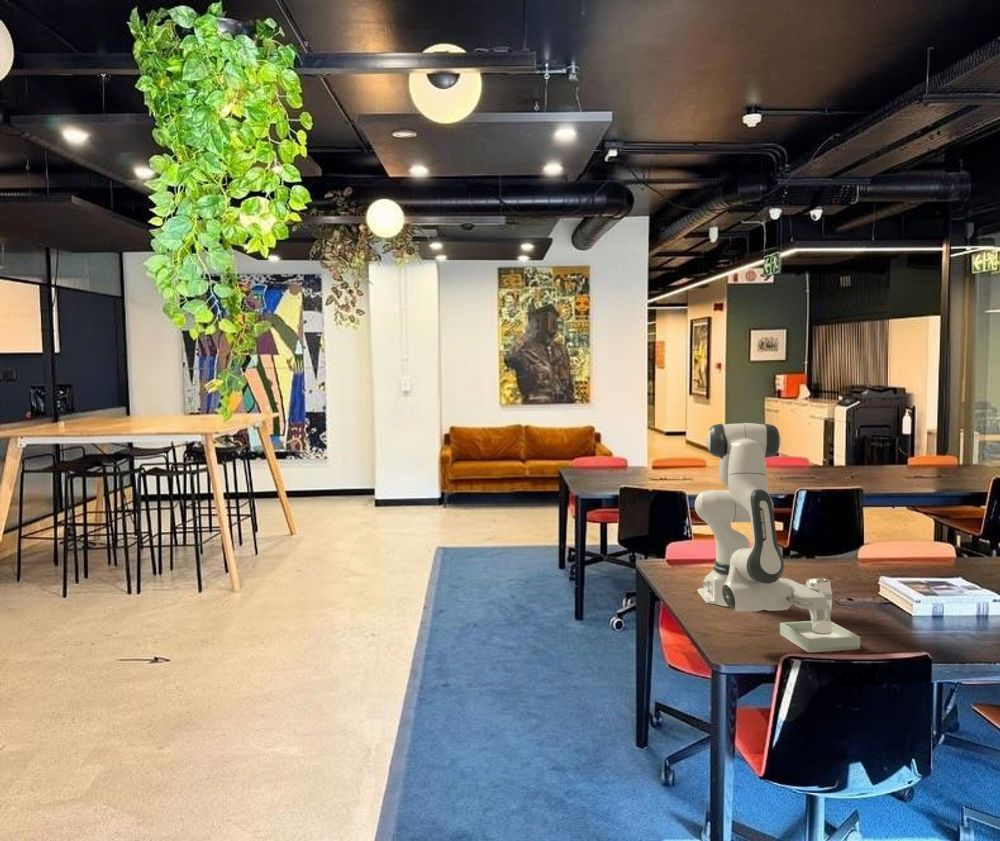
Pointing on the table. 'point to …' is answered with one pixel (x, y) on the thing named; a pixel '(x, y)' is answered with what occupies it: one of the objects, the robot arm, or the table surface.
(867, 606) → the table surface
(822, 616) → the beer glass
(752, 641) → the table surface
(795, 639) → the light gray opaque tray
